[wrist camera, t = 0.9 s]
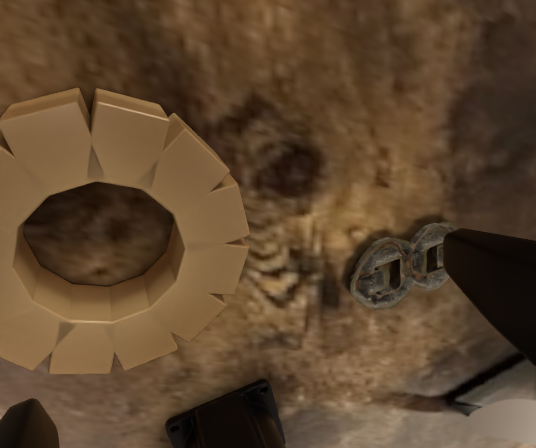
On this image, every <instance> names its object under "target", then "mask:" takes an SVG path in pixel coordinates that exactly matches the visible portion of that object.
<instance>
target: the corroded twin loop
mask: <svg viewBox="0 0 536 448" xmlns="http://www.w3.org/2000/svg"><path fill="white" fill-rule="evenodd" d="M457 229H460V228H459V227H458V226H456V225H455V224H453V223H448V222H442V223H439V224H437V223H431V224H429V225H425V226H423V227H422V228H421V230H420V231H418V232H417V233H415V234H414V236H413V237H412V239H411V240H410V241H406V240H402V239H397V238H389V237H385V238H382V239H379V240H376V241H374V242H373V243H372V245H371V246H370V247H369V248H368V249H367V250H366V251H365V252H364V253H363V255H362V256H361V258H360V259H359V260H358V262H357V263H356V266H355V270H354V273H353V274H352V275H351V285H350V287H351V295H352V296H353V297H354V298H355V300H356V301H357V302H359V303H360V304H362V305H364V306H367V307H369V308H371V309H374V310H385V309H391V308H393V307H395V306H396V305H398V304H399V303H400V302H401V301H402V300H403V299H404V298H405V297H406V296H407V294H408V293H409V292H410V290H411V288H412V287H414V286H417V287H419V288H421V289H423V290H425V291H432V290H434V289H437V288H439V287H441V286H442V285H443V284H444V283H445V282H446V281H447V280H448V279H449V278H450V276H449V275H448V274H447V273H446V271H445V269H444V266H443V238H444V236H445V235H446V234H447V233H449V232H452V231H454V230H457ZM431 247H433V252H432V253H433V256H434V258H435V259H436V260H437V265H435V266H434V267H433V268H430V269H428V270H426V266H427V257H426V253H427V250H428V249H429V248H431ZM396 259H399V264H398V266H399V270H400V275H399V276H398V277H397V279H396V280H395V281H394V282H393V283H391V284H389V279H390V274H389V271H388V269H387V268H384V269H380V270H379V269H376V267H378V266H380V265H383V264H386V263H388V262H391V261H394V260H396Z"/></svg>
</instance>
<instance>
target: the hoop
mask: <svg viewBox="0 0 536 448" xmlns="http://www.w3.org/2000/svg"><path fill="white" fill-rule="evenodd" d="M229 172H230V170H229V169H228V167H227V166H226V165H225V164H224V163H223V161H222V160H221V159H220V158H219V157H218V155H217V154H216V153H215V152H214V151H213V150H212V149H211V148H210V147H209V146H208V145H207V144H206V143H205V142H204V141H203V140H202V139H201V138H200V137H199V136H198V135H197V134H196V133H195V132H194V131H193V130H192V129H191V128H190V127H189V126H188V125H187V124H185V123H184V122H183V121H182V120H181V119H180V118H179V117H178V116H177V115H176V114H175V113H172V114H171V115H170V116H169V117H167V115H166V114H165V112H164V111H163V109H162V108H161V106H160V105H159V104H156V103H152V102H148V101H144V100H140V99H137V98H133V97H129V96H125V95H121V94H118V93H114V92H110V91H106V90H102V89H99V88H98V89H96V90H95V94H94V99H93V105H92V111H91V117H90V114H89V112H88V109H87V107H86V104H85V101H84V99H83V96H82V94H81V91H80V89H79V88H74V89H71V90H67V91H63V92H59V93H55V94H51V95H47V96H43V97H39V98H35V99H31V100H27V101H23V102H19V103H15V104H11V105H10V106H9V108H8V109H7V110H6V111H5V113H4V114H3V115H2V117H0V358H3V359H5V360H7V361H10V362H12V363H14V364H17V365H19V366H21V367H24V368H26V369H28V370H31V371H33V370H35V369H36V368H37V367H38V365H39V364H40V363H41V362H42V361H43V360H44V359H45V358H46V357H47V356H48V355H49V354H50V360H49V369H48V373H49V374H110V372H111V368H112V364H113V360H114V355H115V354H116V356H117V358H118V360H119V362H120V364H121V366H122V368H123V370H124V371H126V370H129V369H131V368H134V367H136V366H139V365H141V364H144V363H147V362H149V361H152V360H154V359H157V358H159V357H162V356H164V355H167V354H169V353H172V352H174V351H177V349H178V348H177V344H176V340H175V336H174V334H175V335H177V336H179V337H180V338H182V339H184V340H185V341H187V342H191V341H192V340H193V339H194V338H195V337H196V336H197V335H198V334H199V333H200V332H201V331H202V330H203V329H204V328H205V327H206V326H207V325H208V324H209V323H210V322H211V321H212V320H213V319H214V318H215V317H216V316H217V315H218V314H219V313H220V312H221V311H222V310H223V309H224V308H225V307H226V303H225V301H224V299H223V297H222V294H223V295H234V293H235V290H236V287H237V284H238V281H239V278H240V275H241V272H242V269H243V266H244V263H245V260H246V257H247V254H248V251H249V246H248V245H247V243H246V242H245V240H244V239H243V237H246V236H249V235H250V232H249V228H248V224H247V219H246V215H245V211H244V207H243V203H242V199H241V195H240V190H239V186H238V184H237V183H236V181H235V180H234V179H233V178H232V176H231V175H230V174H229ZM96 181H97V182H103V183H109V184H114V185H120V186H126V187H132V188H137V189H142V190H143V191H144V192H146V193H147V194H148V195H149V196H151V197H152V198H153V199H154V200H156V201H157V202H158V203H159V204H161V205H162V206H163V207H164V208H166V209H167V210H168V211H169V212H171V213H172V216H173V219H174V224H173V228H172V231H171V235H170V239H169V243H168V247H167V251H166V252H165V253H164V254H163V255H162V256H161V257H160V258H159V259H158V260H157V261H156V262H155V263H154V264H153V265H152V266H151V267H150V268H149V269H148V270H147V271H146V272H145V273H144V274H143V275H141V276H138V277H135V278H132V279H130V280H127V281H124V282H121V283H118V284H115V285H113V286H110V287H106V286H93V285H80V284H71V283H69V282H68V281H66V280H64V279H63V278H61V277H59V276H57V275H56V274H54V273H52V272H50V271H49V270H47V269H45V268H43V267H42V266H40V265H39V263H38V261H37V259H36V257H35V256H34V254H33V252H32V250H31V248H30V247H29V245H28V243H27V241H26V239H25V238H24V236H23V231H24V223H25V220H26V219H27V218H28V217H29V216H30V215H31V214H32V213H33V212H34V211H35V210H36V209H37V208H38V207H39V206H40V205H41V204H42V203H43V201H44V200H45V199H46V198H47V197H48V196H49V195H53V194H56V193H59V192H63V191H66V190H69V189H73V188H76V187H79V186H83V185H86V184H89V183H93V182H96Z"/></svg>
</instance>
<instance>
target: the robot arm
mask: <svg viewBox="0 0 536 448" xmlns="http://www.w3.org/2000/svg"><path fill="white" fill-rule="evenodd" d="M443 266H444V269H445V271H446V273H447V274H448V275H449V276H450V278H451V279H452V280H453V281H454V282H455V283H456V285H457V286H458V287H459V288H460V289H461V290H462V292H463V293H464V294H465V295H466V296H467V297H468V299H469V300H470V301H471V302H472V303H473V304H474V306H475V307H476V308H477V309H478V310H479V311H480V313H481V314H482V315H483V316H484V317H485V318H486V319H487V320H488V322H489V323H490V324H491V325H492V326H493V327H494V328H495V329H496V330H497V331H498V332H499V333H500V334H502V335H503V336H504V337H505V338H506V339H507V340H508V341H509V342H510V343H511V344H512V345H513V346H514V347H515V348H516V349H517V350H518V351H519V352H520V353H521V354H522V355H523V356H525V357H526V358H527V359H528V360H529V361H530V362H531V363H532V364H533V365H534V366H535V367H536V241H534V240H528V239H522V238H516V237H511V236H505V235H499V234H493V233H487V232H481V231H476V230H470V229H464V228H460V229H457V230H454V231H452V232H449V233H447V234H446V235H445V236H444V238H443ZM165 426H166V431H167V434H168V436H169V438H170V440H171V442H172V444H173V446H174V448H286V447H285V438H284V434H283V430H282V426H281V423H280V419H279V415H278V412H277V408H276V404H275V401H274V397H273V393H272V389H271V386H270V384H269V382H268V380H266V379H261V380H258V381H256V382H254V383H251V384H249V385H247V386H244V387H242V388H240V389H237V390H235V391H233V392H230V393H228V394H226V395H224V396H221V397H219V398H217V399H214V400H212V401H210V402H207V403H205V404H203V405H200V406H198V407H196V408H193V409H191V410H189V411H186V412H184V413H182V414H179V415H177V416H175V417H172V418H170V419H169V420H168V421H167V422H166V424H165ZM0 448H59V437H58V432H57V428H56V426H55V424H54V423H53V421H52V420H51V418H50V417H49V415H48V414H47V412H46V411H45V410H44V408H43V407H42V405H41V404H40V402H39V401H38V400H36V399H33V398H31V399H28V400H26V401H23V402H21V403H18V404H16V405H13V406H12V407H10V408H9V409H8V411H7V412H6V413H5V415H4V416H3V417H2V419H1V420H0Z"/></svg>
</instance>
